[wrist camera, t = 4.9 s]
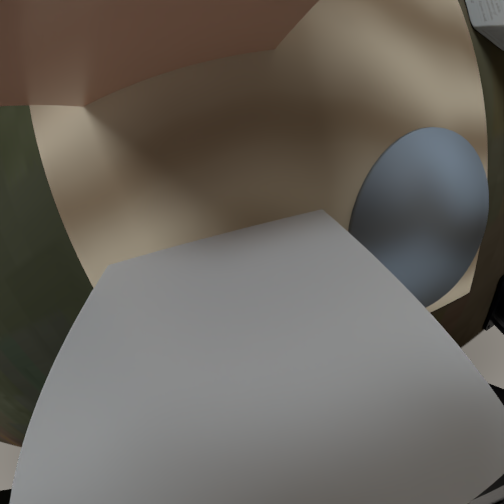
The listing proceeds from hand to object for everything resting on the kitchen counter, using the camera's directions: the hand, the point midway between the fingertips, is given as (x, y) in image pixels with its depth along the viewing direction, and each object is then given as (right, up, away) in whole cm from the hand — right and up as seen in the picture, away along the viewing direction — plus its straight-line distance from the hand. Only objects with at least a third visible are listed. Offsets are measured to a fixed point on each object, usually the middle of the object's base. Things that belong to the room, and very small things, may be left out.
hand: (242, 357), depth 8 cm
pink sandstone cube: (-3, +12, -2) cm, 13 cm away
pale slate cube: (0, +1, +1) cm, 2 cm away
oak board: (+3, +8, +2) cm, 9 cm away
